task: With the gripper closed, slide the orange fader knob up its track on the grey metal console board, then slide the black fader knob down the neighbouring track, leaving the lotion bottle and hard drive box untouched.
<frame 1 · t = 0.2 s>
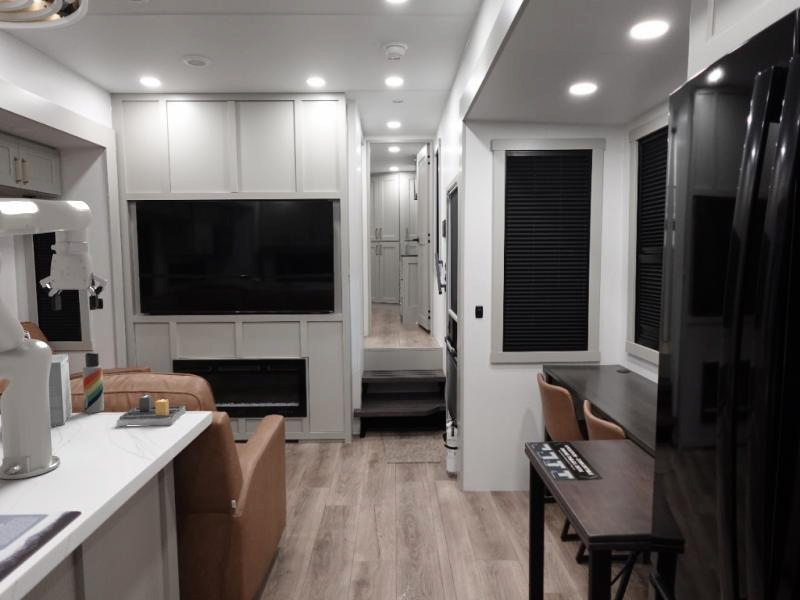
hand: (75, 309, 146), 36 cm above the kitchen island, tool pointing down, fingers open, 9 cm apart
fader B: (146, 403, 167), point 4 cm above the kitchen island, slide at 3.0 cm
console: (152, 419, 165), on the kitchen island
fader A: (162, 407, 162), point 4 cm above the kitchen island, slide at -4.0 cm
lotion bottle: (94, 411, 174), on the kitchen island
hard drive box: (54, 420, 165), on the kitchen island
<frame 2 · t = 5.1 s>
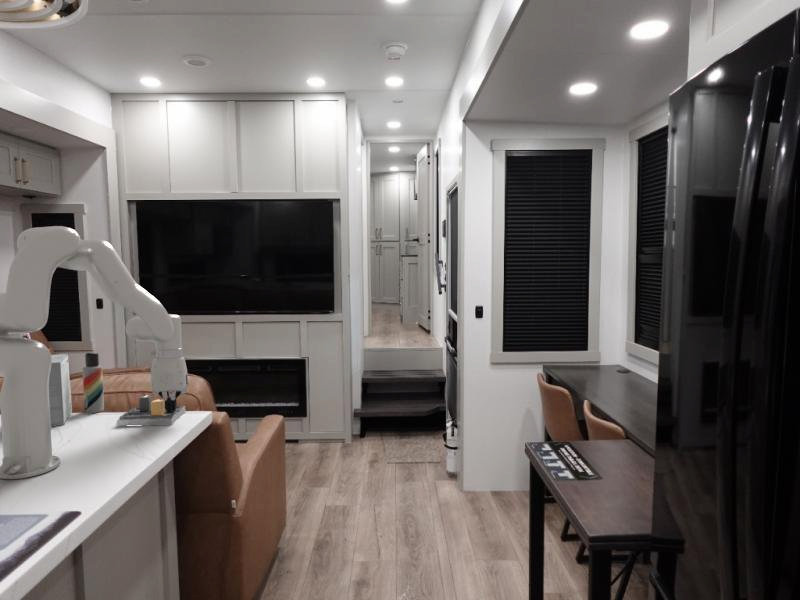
hand: (171, 411, 163), 3 cm above the kitchen island, tool pointing down, fingers closed
fader A: (157, 407, 162), point 4 cm above the kitchen island, slide at -2.7 cm, touching gripper
everything else where it was.
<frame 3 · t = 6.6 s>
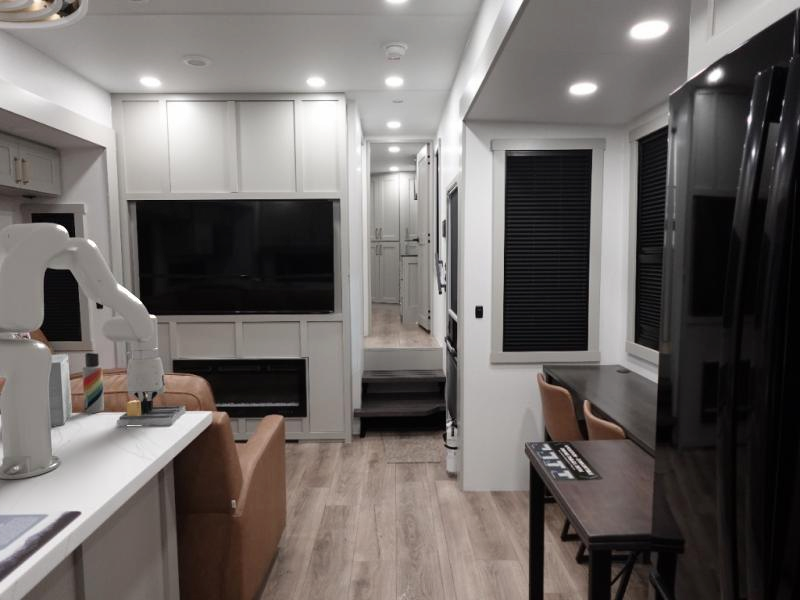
hand: (147, 412, 162), 3 cm above the kitchen island, tool pointing down, fingers closed
fader A: (134, 408, 161), point 4 cm above the kitchen island, slide at 4.4 cm, touching gripper
everything else where it was.
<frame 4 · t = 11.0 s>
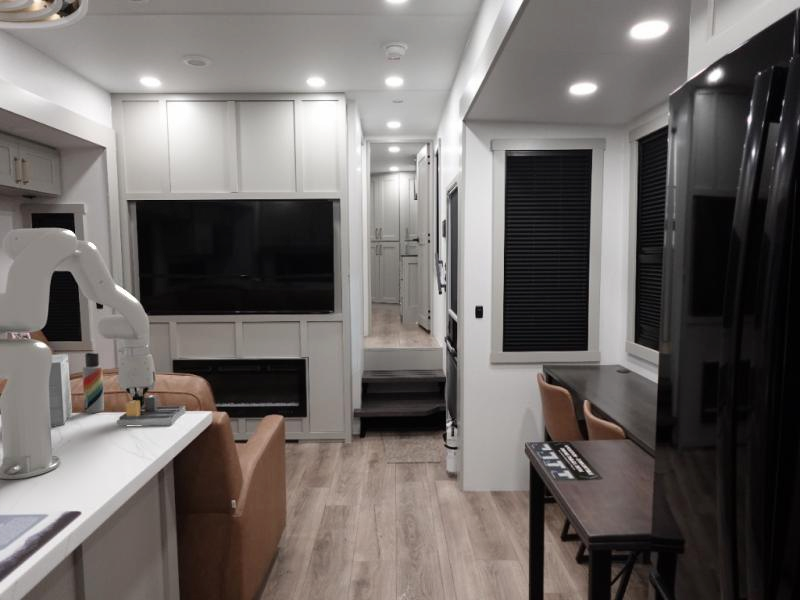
hand: (138, 407, 167), 3 cm above the kitchen island, tool pointing down, fingers closed
fader B: (151, 403, 168), point 4 cm above the kitchen island, slide at 1.4 cm, touching gripper
fader A: (133, 408, 161), point 4 cm above the kitchen island, slide at 4.6 cm
everything else where it was.
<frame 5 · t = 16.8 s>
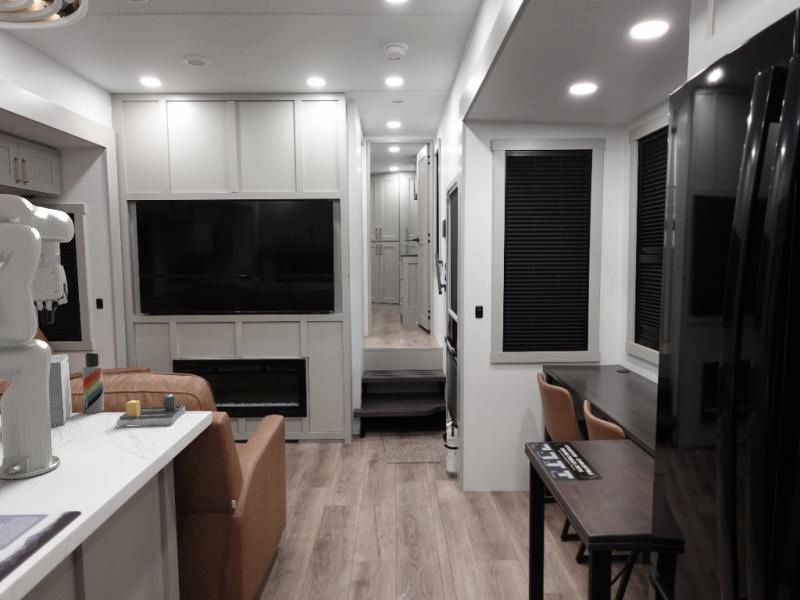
hand: (48, 323, 151), 32 cm above the kitchen island, tool pointing down, fingers closed
fader B: (170, 402, 168), point 4 cm above the kitchen island, slide at -4.6 cm
everything else where it was.
at the end: fader A slide at 4.6 cm; fader B slide at -4.6 cm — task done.
